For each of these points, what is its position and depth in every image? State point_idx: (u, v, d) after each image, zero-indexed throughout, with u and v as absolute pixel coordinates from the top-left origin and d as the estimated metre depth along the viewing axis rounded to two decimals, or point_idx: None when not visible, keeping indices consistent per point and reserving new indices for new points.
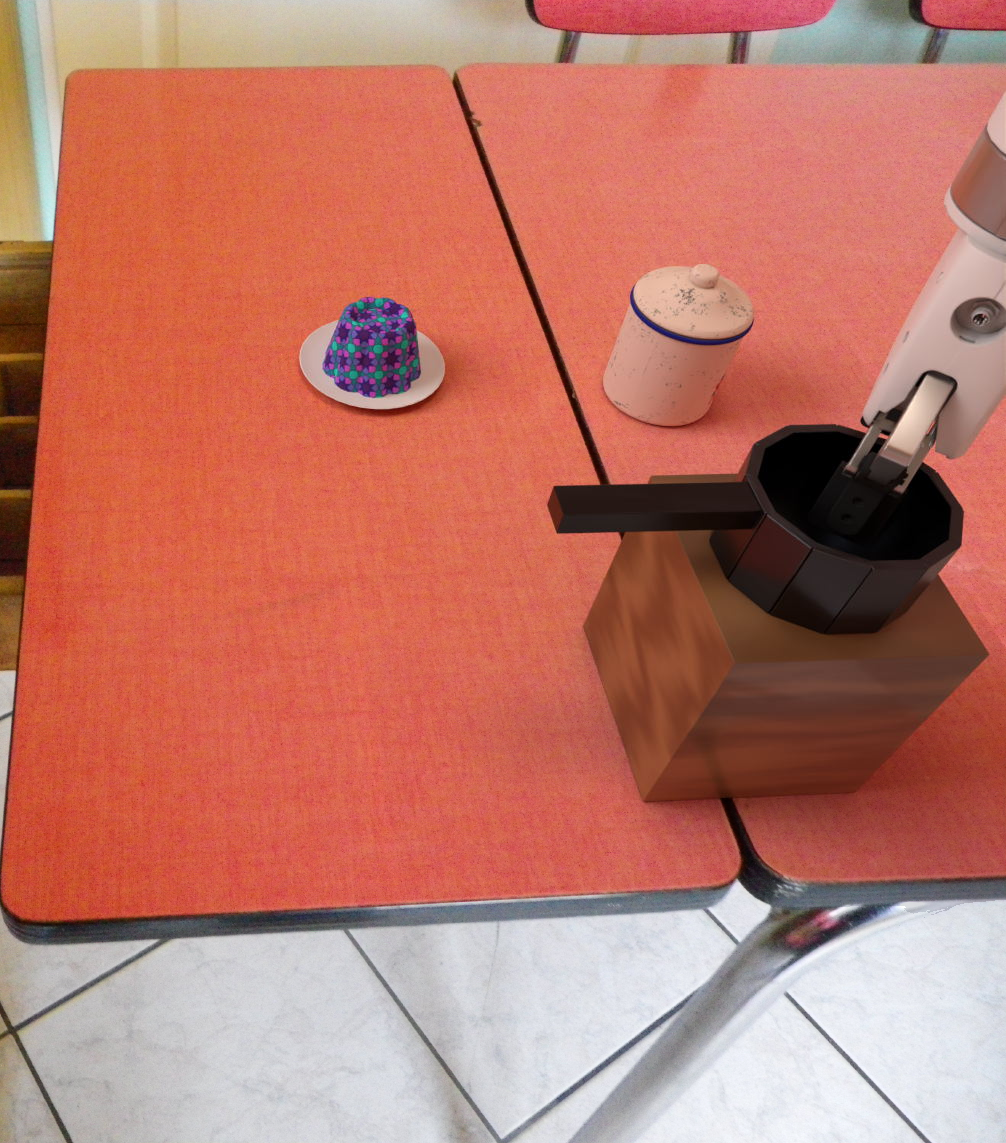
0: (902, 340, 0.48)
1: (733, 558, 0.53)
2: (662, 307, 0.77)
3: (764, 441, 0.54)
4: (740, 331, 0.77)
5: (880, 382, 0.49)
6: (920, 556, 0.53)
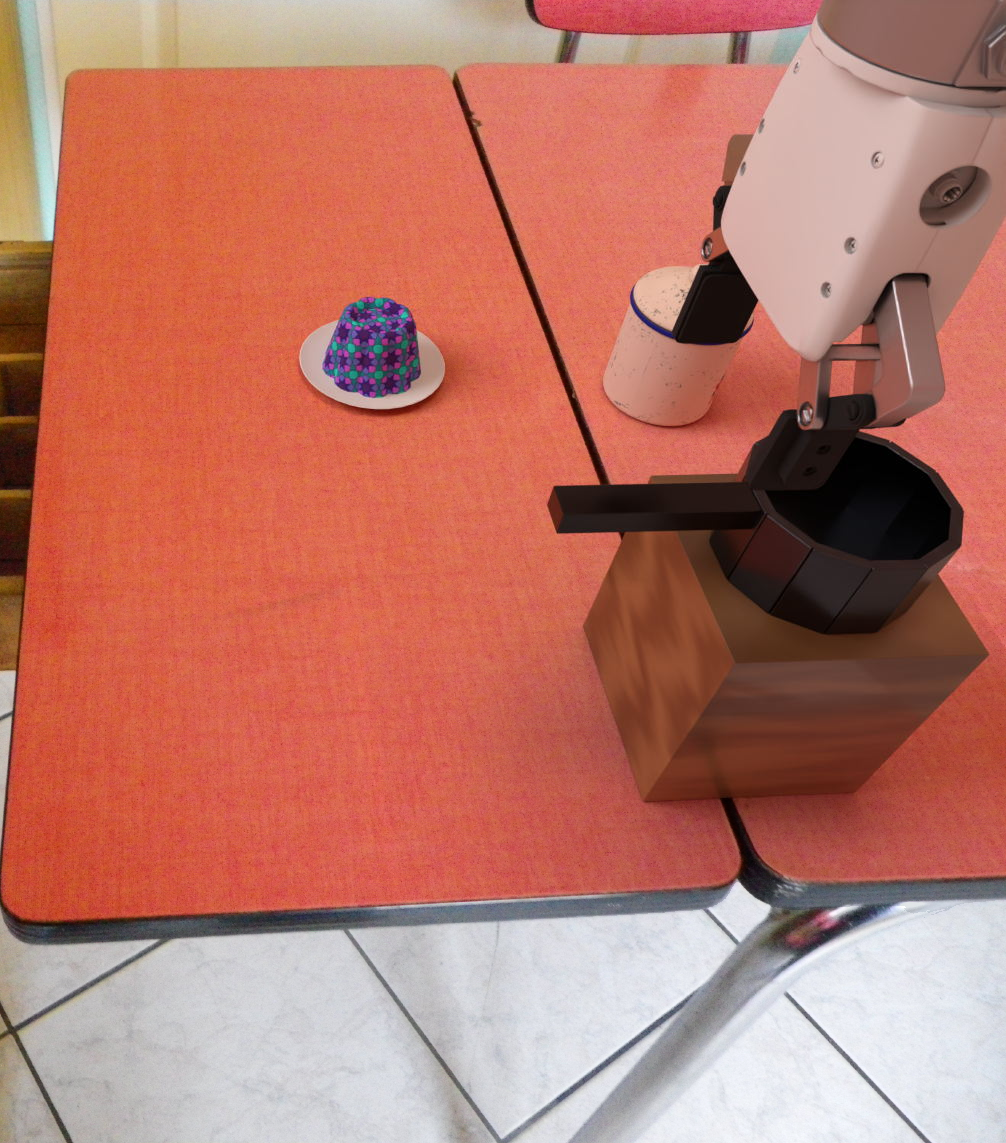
0: (843, 250, 0.36)
1: (733, 558, 0.53)
2: (662, 307, 0.77)
3: (764, 441, 0.54)
4: None
5: (827, 309, 0.37)
6: (920, 556, 0.53)
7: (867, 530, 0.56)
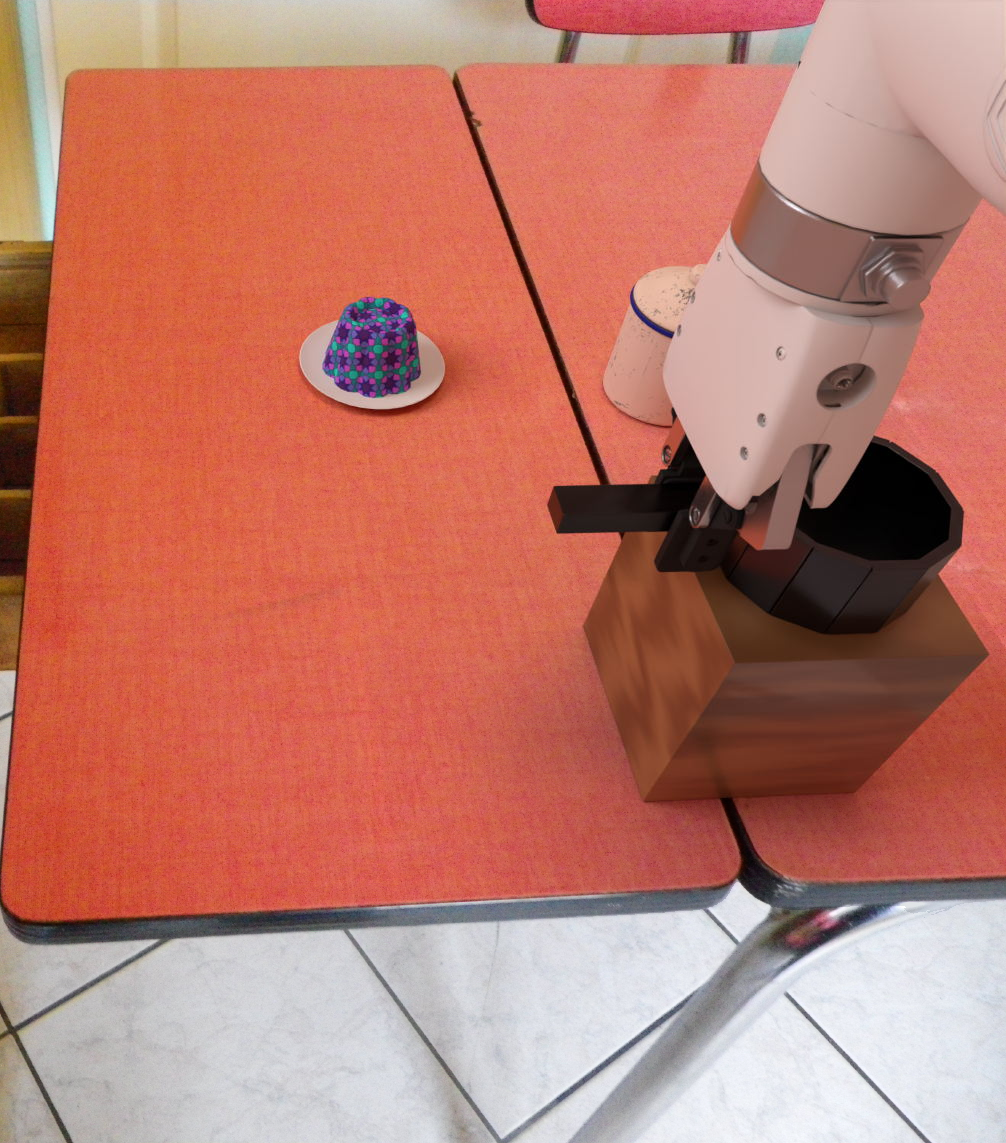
0: (756, 423, 0.42)
1: (733, 558, 0.53)
2: (662, 307, 0.77)
3: None
4: None
5: (745, 469, 0.43)
6: (920, 556, 0.53)
7: (867, 530, 0.56)
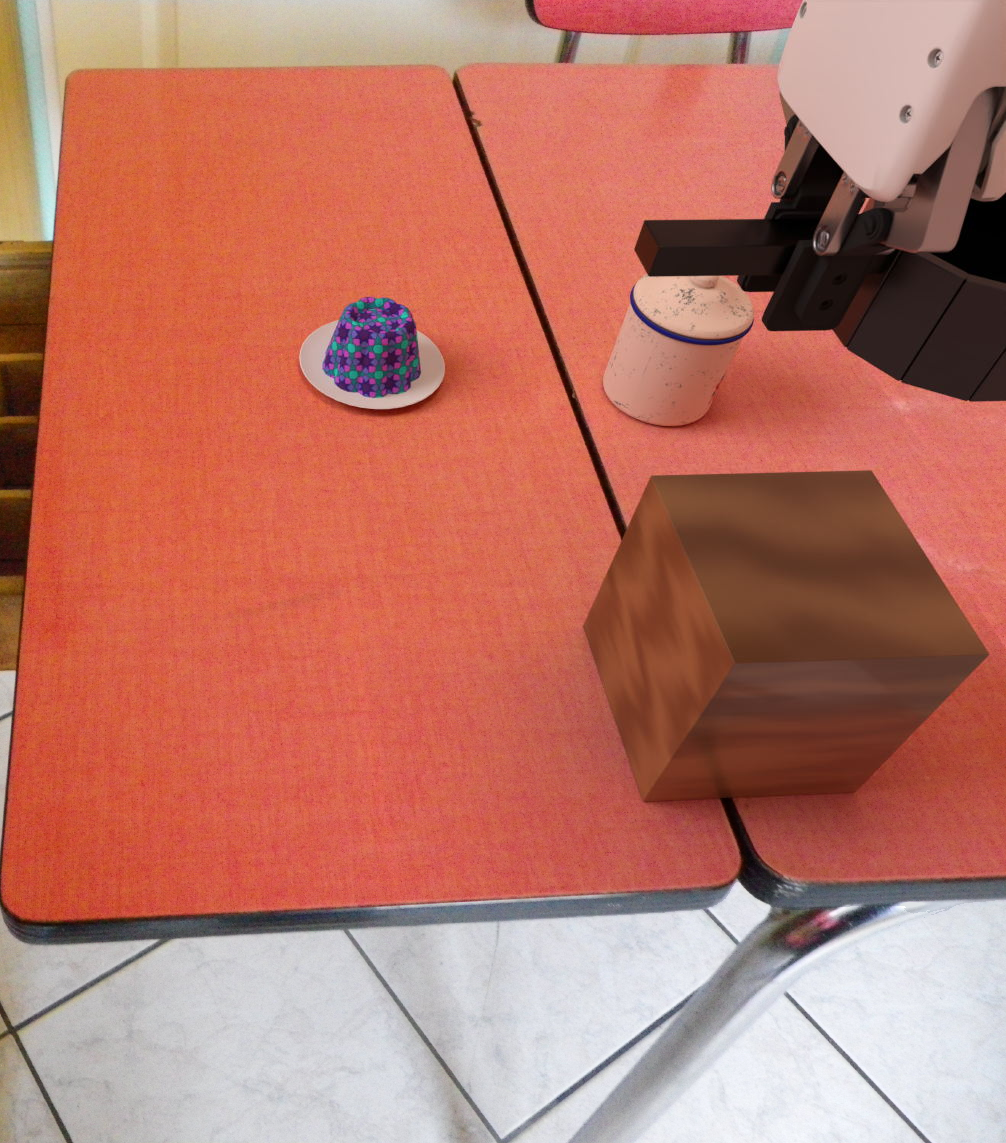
0: (926, 65, 0.33)
1: (855, 318, 0.45)
2: (662, 307, 0.77)
3: None
4: (740, 331, 0.77)
5: (907, 135, 0.34)
6: None
7: None
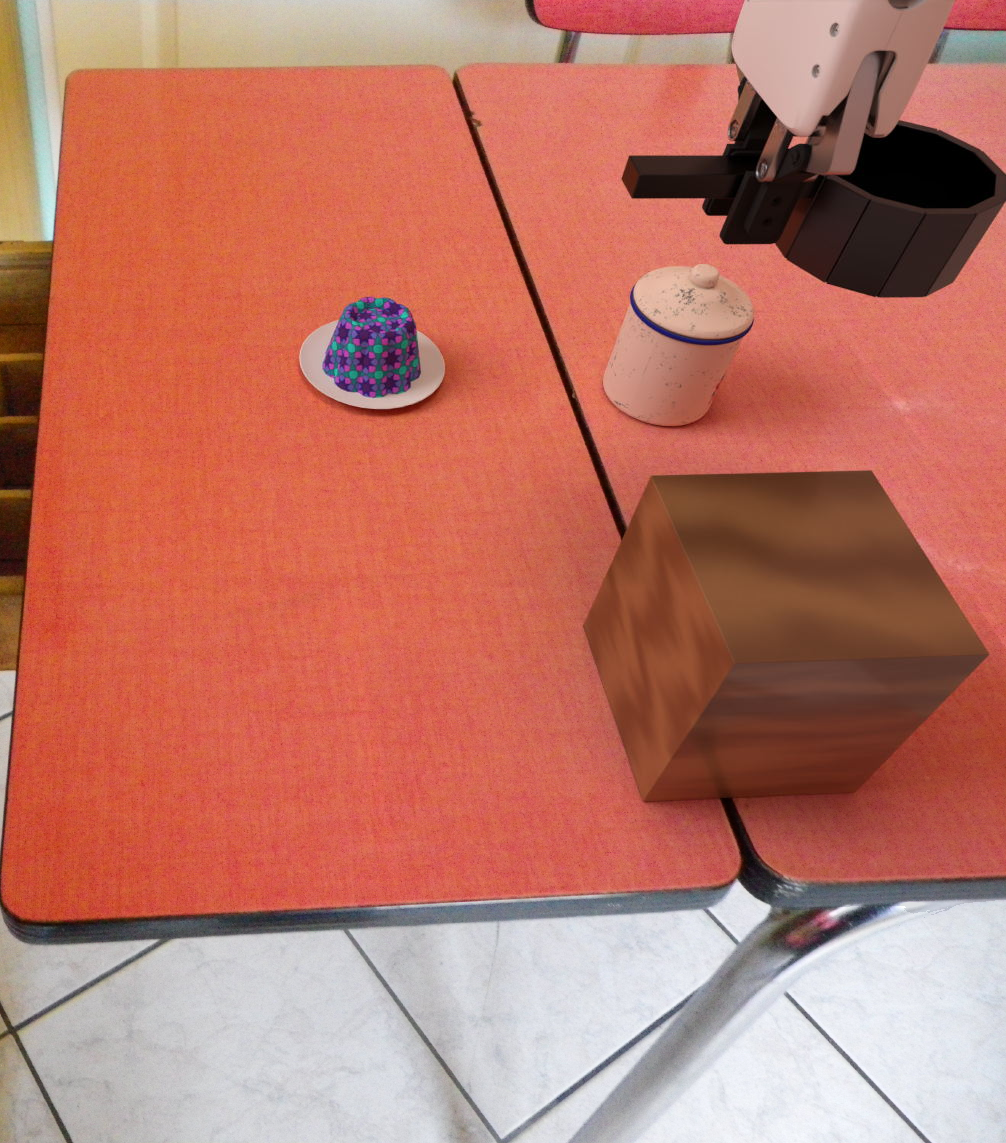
0: (828, 35, 0.46)
1: (792, 234, 0.58)
2: (662, 307, 0.77)
3: None
4: (740, 331, 0.77)
5: (817, 86, 0.47)
6: None
7: None
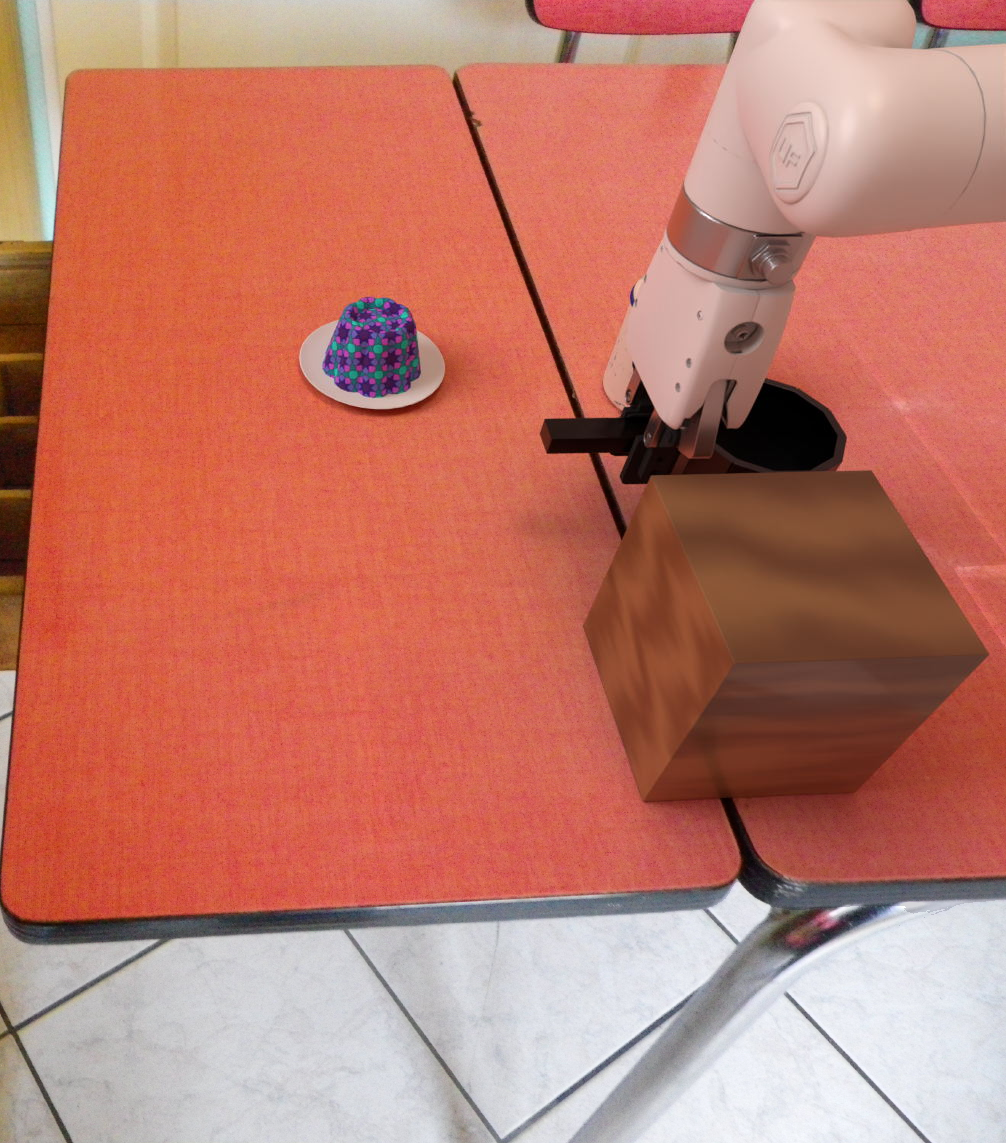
0: (685, 365, 0.60)
1: None
2: None
3: None
4: None
5: (679, 399, 0.61)
6: None
7: (782, 456, 0.74)
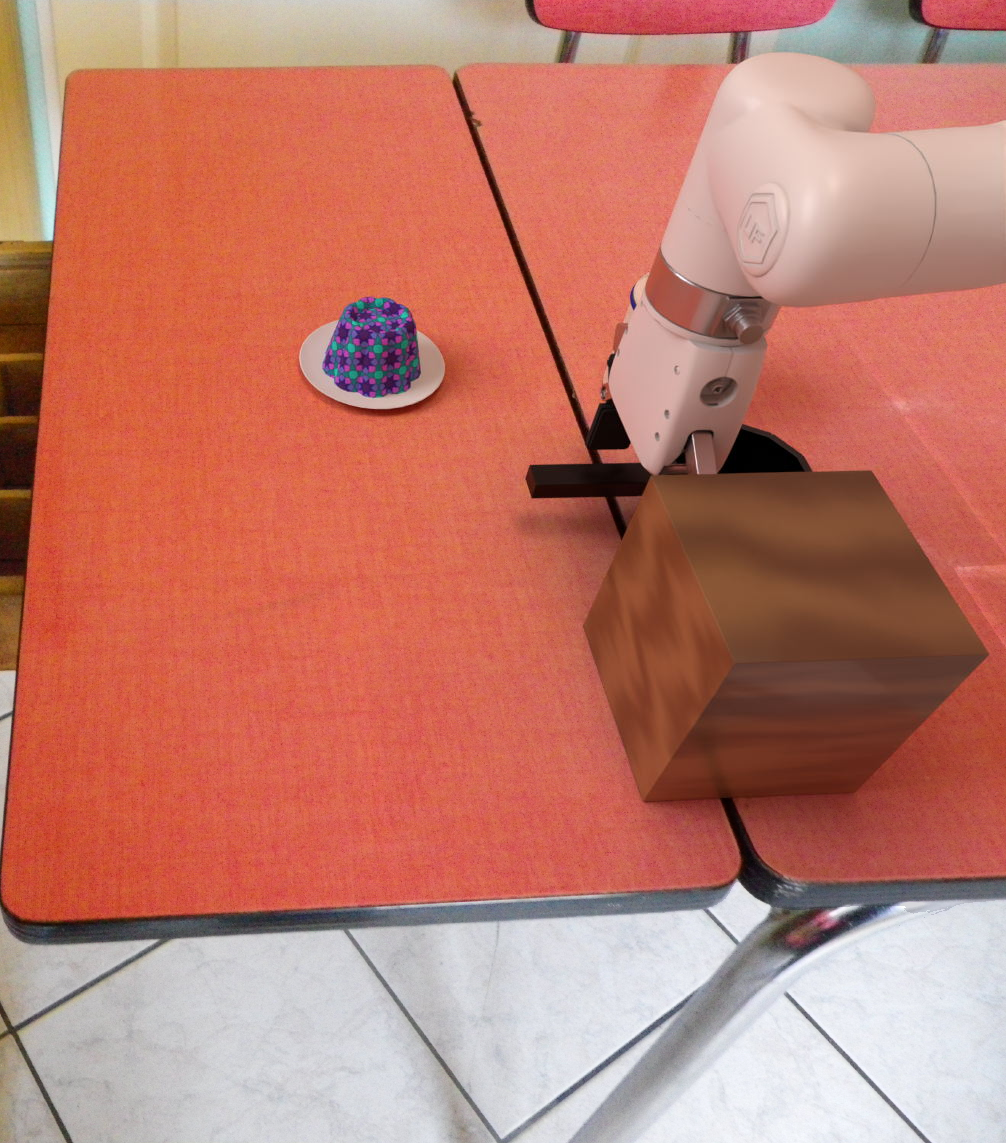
0: (664, 416, 0.63)
1: None
2: None
3: None
4: None
5: (658, 447, 0.64)
6: None
7: None
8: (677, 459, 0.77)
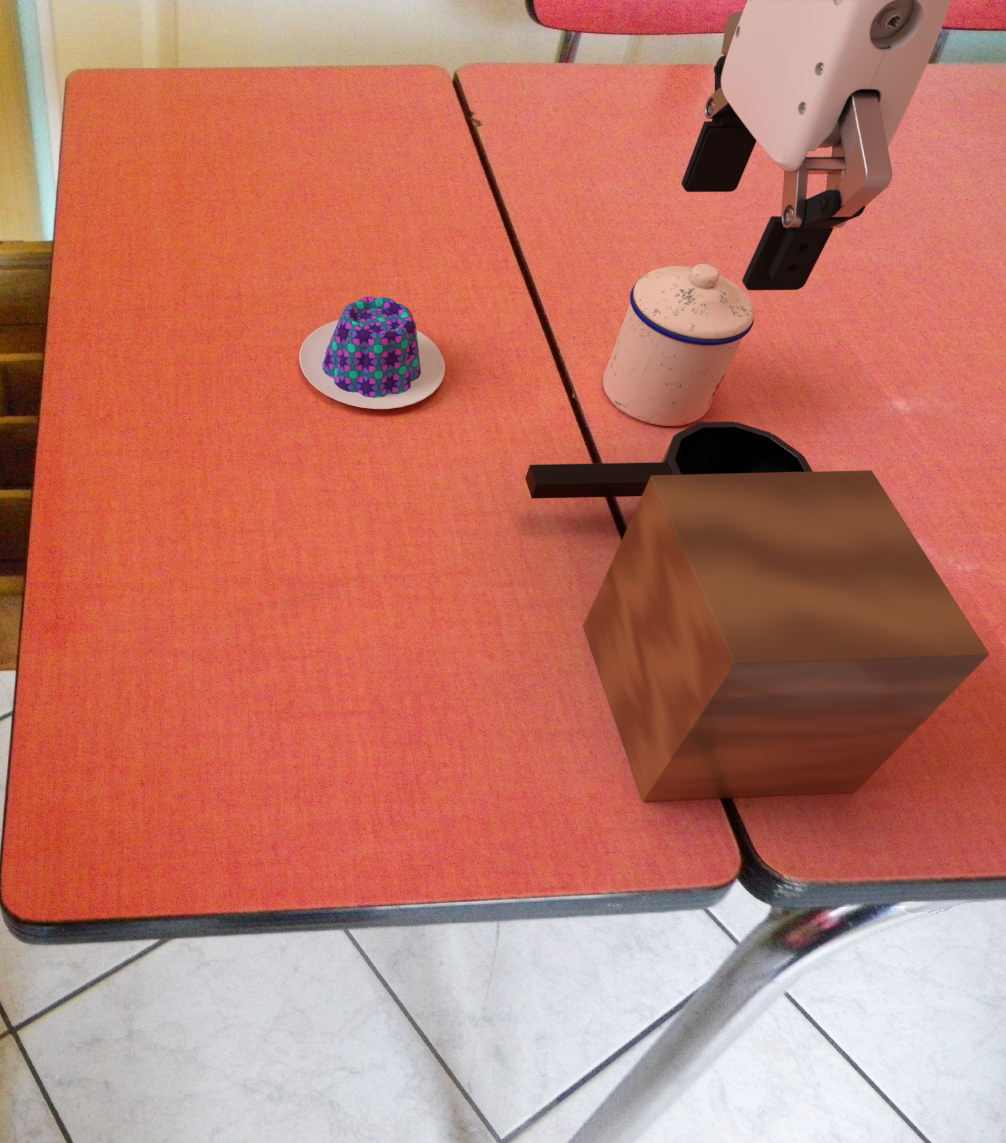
0: (814, 74, 0.48)
1: None
2: (662, 307, 0.77)
3: (681, 433, 0.75)
4: (740, 331, 0.77)
5: (803, 123, 0.49)
6: None
7: None
8: (677, 459, 0.77)
